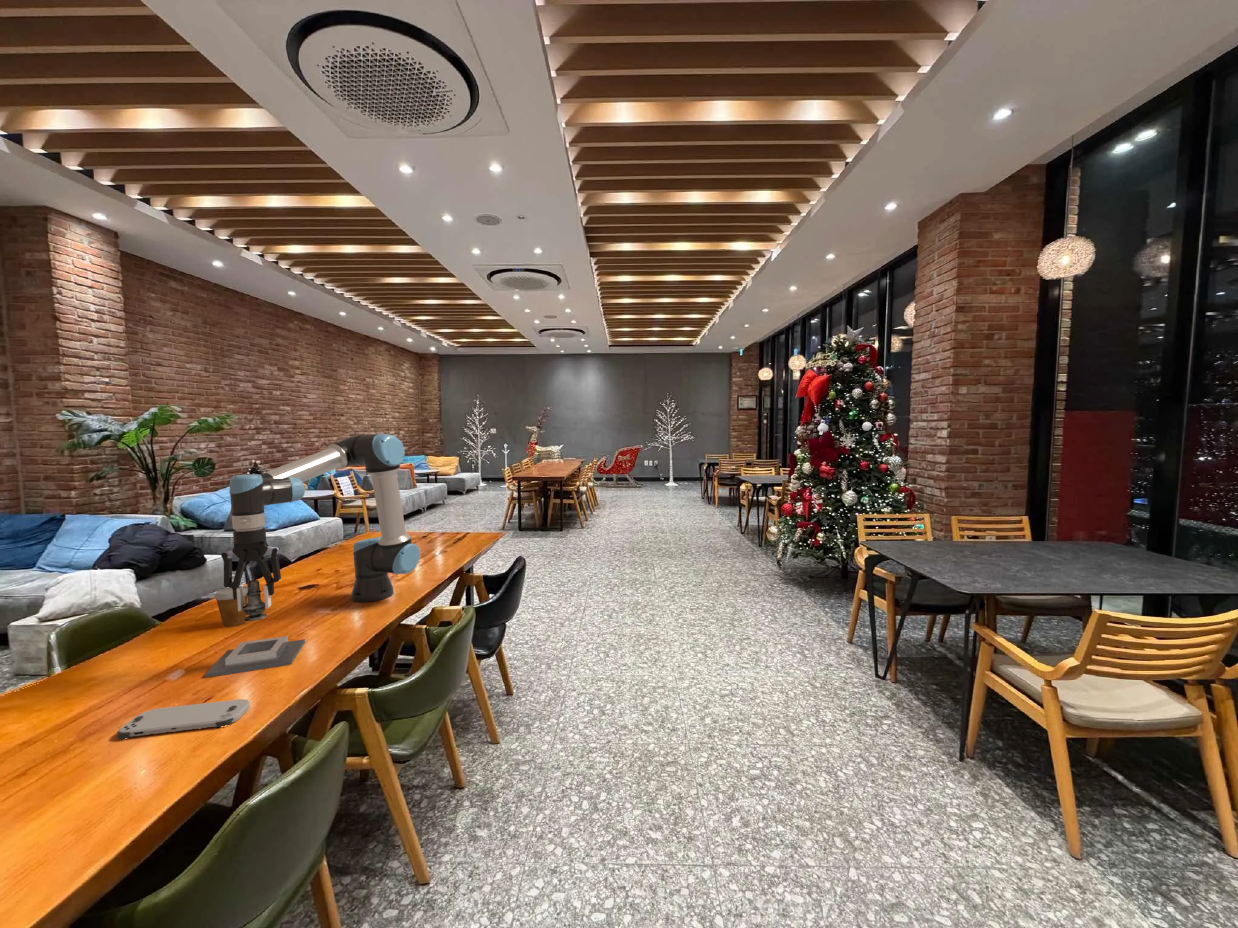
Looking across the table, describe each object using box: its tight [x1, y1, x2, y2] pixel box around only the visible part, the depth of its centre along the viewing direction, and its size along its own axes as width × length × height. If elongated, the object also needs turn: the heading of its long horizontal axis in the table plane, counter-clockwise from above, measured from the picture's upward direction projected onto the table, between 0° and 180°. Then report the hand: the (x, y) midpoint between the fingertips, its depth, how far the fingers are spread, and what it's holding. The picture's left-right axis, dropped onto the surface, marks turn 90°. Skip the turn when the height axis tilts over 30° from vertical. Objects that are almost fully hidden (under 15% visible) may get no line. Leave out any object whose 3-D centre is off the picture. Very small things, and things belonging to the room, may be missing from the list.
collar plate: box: [204, 635, 306, 679], centre depth 146 cm, size 20×16×4 cm
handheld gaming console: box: [116, 698, 251, 740], centre depth 115 cm, size 23×3×10 cm
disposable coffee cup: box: [214, 585, 248, 628], centre depth 174 cm, size 10×10×12 cm
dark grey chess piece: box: [242, 576, 268, 622], centre depth 145 cm, size 6×6×12 cm
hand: (254, 607), depth 145 cm, fingers closed on dark grey chess piece, 6 cm apart
